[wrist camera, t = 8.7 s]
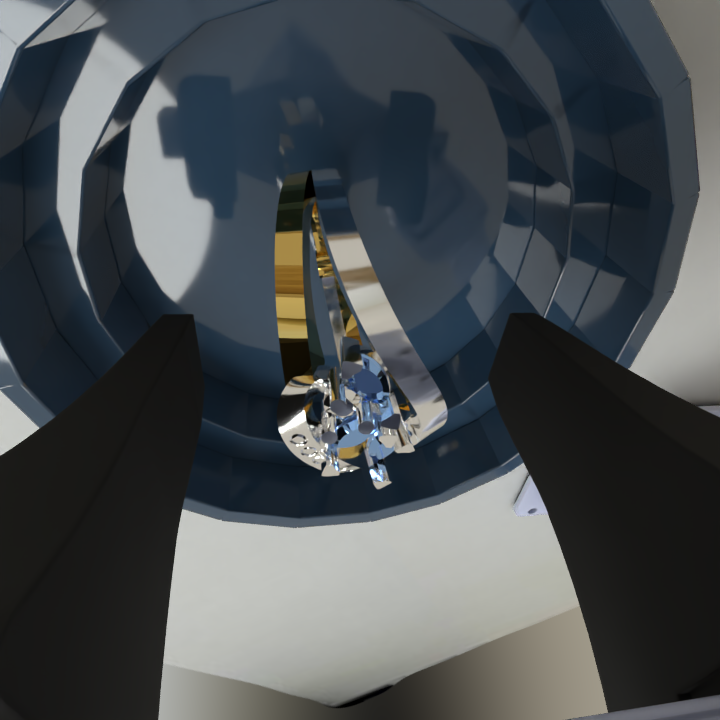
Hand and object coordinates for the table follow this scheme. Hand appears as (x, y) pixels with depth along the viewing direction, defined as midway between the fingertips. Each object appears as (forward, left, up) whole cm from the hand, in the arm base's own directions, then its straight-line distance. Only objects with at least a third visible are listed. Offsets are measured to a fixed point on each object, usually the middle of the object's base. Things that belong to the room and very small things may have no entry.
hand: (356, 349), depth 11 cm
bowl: (0, 0, -5) cm, 5 cm away
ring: (0, 0, -5) cm, 5 cm away
